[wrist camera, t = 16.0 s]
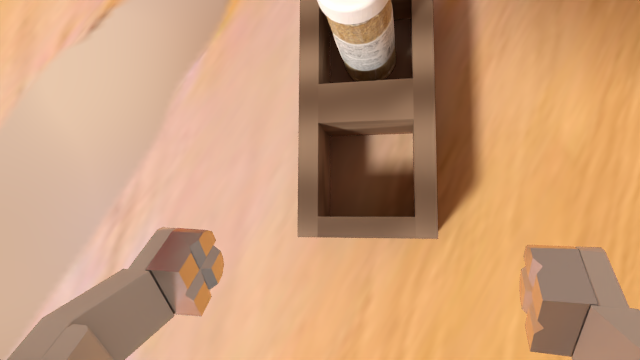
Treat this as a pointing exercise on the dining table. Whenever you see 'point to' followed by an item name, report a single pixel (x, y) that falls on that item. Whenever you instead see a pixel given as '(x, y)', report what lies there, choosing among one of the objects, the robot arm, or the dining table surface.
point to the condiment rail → (365, 126)
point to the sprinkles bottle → (363, 36)
